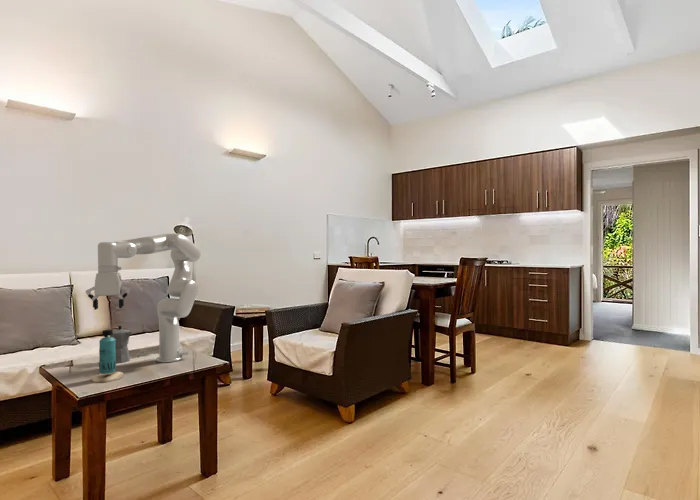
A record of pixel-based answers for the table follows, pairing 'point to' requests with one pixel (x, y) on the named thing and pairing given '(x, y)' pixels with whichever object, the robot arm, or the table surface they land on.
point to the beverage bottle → (107, 353)
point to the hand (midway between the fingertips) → (108, 308)
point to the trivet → (107, 377)
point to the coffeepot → (121, 344)
